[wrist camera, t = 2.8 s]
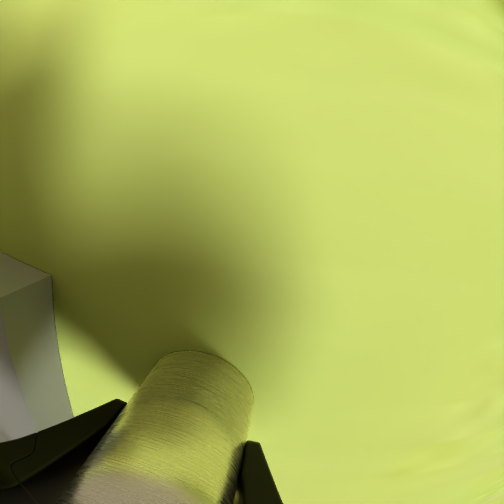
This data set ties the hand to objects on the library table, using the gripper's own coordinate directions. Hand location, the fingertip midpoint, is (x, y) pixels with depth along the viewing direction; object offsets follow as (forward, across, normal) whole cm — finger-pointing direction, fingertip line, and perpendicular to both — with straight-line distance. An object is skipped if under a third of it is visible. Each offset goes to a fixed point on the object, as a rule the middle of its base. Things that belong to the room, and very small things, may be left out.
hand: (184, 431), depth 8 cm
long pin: (+2, 0, 0) cm, 2 cm away
